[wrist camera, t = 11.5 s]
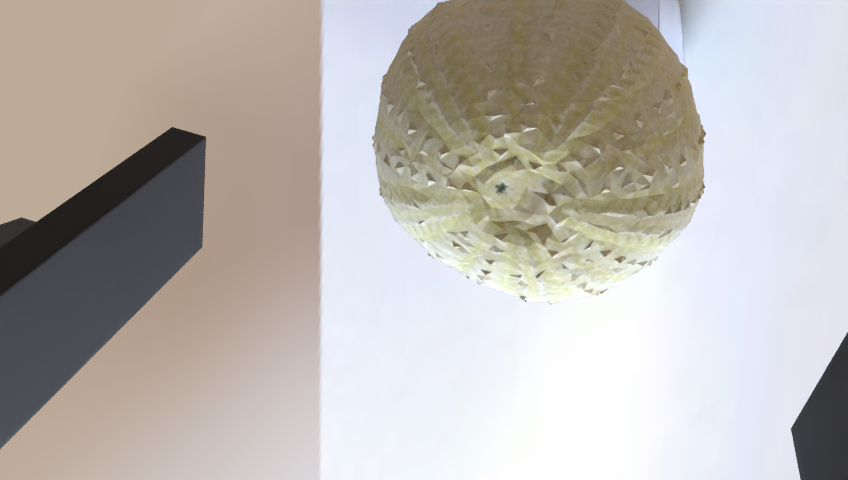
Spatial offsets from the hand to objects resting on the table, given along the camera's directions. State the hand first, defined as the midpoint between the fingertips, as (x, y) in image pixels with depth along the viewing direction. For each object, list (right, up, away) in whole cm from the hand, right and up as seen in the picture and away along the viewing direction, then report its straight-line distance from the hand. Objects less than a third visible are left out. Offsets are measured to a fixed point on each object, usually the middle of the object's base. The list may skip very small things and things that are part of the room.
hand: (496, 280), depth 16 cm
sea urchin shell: (+2, +4, +8) cm, 10 cm away
